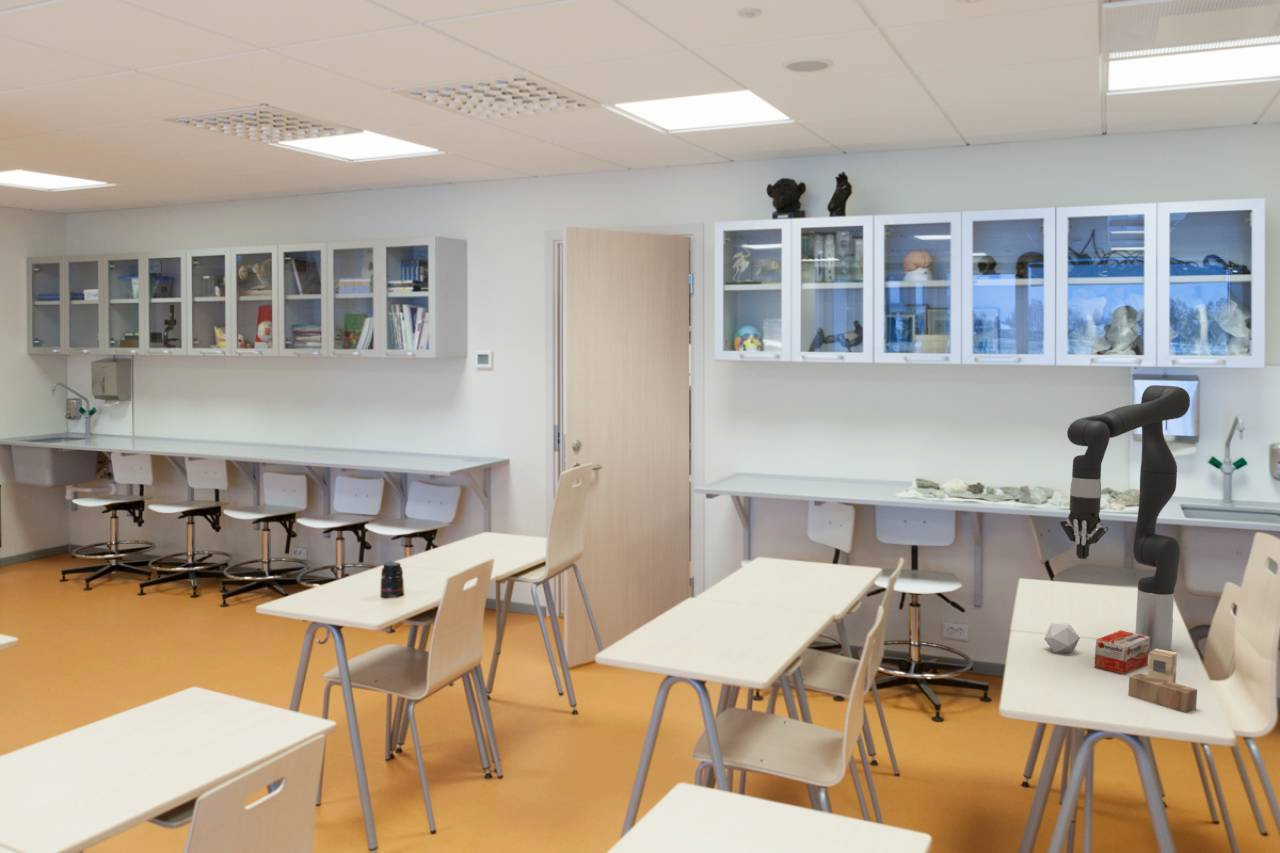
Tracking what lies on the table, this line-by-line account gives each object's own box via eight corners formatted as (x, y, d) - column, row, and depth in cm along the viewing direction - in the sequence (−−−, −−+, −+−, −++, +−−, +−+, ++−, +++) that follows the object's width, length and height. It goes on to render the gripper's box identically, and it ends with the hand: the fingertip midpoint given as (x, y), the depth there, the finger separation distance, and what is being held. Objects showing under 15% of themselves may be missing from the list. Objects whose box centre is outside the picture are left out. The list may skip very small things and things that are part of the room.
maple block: (1154, 682, 263) (1156, 648, 262) (1175, 687, 260) (1177, 652, 259) (1147, 687, 259) (1149, 652, 259) (1168, 692, 256) (1170, 657, 255)
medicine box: (1124, 676, 269) (1125, 646, 268) (1093, 668, 275) (1095, 639, 274) (1149, 665, 279) (1150, 636, 278) (1119, 657, 285) (1120, 629, 284)
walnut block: (1140, 673, 255) (1197, 689, 244) (1139, 692, 256) (1196, 709, 244) (1129, 676, 253) (1185, 693, 241) (1128, 696, 253) (1184, 713, 241)
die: (1074, 660, 284) (1089, 630, 286) (1046, 643, 285) (1061, 613, 287) (1062, 662, 291) (1076, 633, 294) (1035, 645, 293) (1049, 616, 295)
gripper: (1116, 496, 271) (1113, 561, 273) (1070, 490, 282) (1067, 552, 283) (1101, 498, 267) (1097, 564, 268) (1054, 492, 278) (1051, 555, 279)
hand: (1082, 558), depth 276 cm, fingers closed
